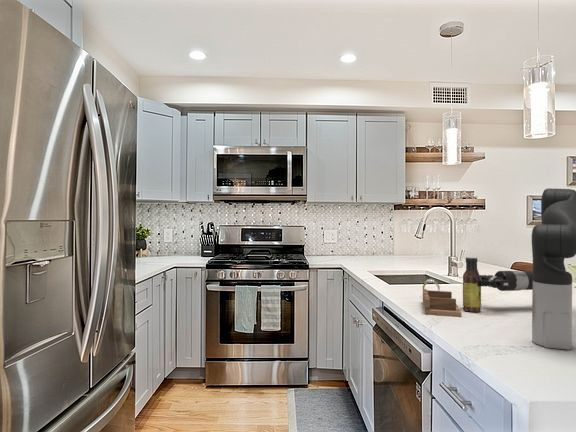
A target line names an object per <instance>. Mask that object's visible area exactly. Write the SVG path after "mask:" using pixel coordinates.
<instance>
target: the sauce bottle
mask: <svg viewBox="0 0 576 432" xmlns="http://www.w3.org/2000/svg"><path fill="white" fill-rule="evenodd" d="M465 263H466V264H465V269H466V270H465V271H464V273H463V275H462V306H463V307H462V308H463V310H464V311H466V312H468V313H478V312H481V310H482V286H480V287H479V286H477V281H478V280H481V278H480V275H481V274H480V273H479V270H478V257H473V256H472V257H470V256H469V257H465Z"/></svg>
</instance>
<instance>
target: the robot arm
mask: <svg viewBox="0 0 576 432" xmlns="http://www.w3.org/2000/svg"><path fill="white" fill-rule="evenodd" d="M540 200H541V202H540V211H541V212H540V214H541V216H540V218H541V219H540V220H541V224H536V225H534V226H533V228H532V231H531V253H532V270H525V271H523V270H521V271H520V270H498V271H497V272H495V274H494V275H492V274H479V275H480V278H481V280H478V281H477V286H479V287H480V286H481V287H488V288H493V289H497V290H498V291H501V292H508V291H509V292H513V291H514V292H516V291H528V290H529V291H530V290H532V292H531V293H532V294H531V295H532V296H531V298H532V299H531V300H532V301H531V302H532V303H531V304H532V305H531V308H532V309H531V315H532V316H531V317H532V318H531V329H532V330H531V340H532V342H533V343H534V344H536V345H539V346H541V347H543V348H547V349H558V350H572V347H573V344H572V343H573V275H572V273H571V272H569V271H566V270H567V269H566V265H565V262H564V261H565V259H572V258H573V257H576V190H575V189H572V188H553V187H552V188H551V187H550V188H545V189H544V190H543V192H542V195H541V199H540Z"/></svg>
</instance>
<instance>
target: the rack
mask: <svg viewBox="0 0 576 432" xmlns="http://www.w3.org/2000/svg"><path fill="white" fill-rule="evenodd" d="M452 294H453V293H452V291H446V290H445V291H443V290H440V291H438V290H428V289H427V288H424V289H423V288H422V306H423V310H424V314H425V315H430V316H441V317H442V316H444V317H458V318H459V317H460V318H462V311H461V309H460V308H459V306H458V304H457V299H456V298H452V297H453V296H452Z"/></svg>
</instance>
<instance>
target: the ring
mask: <svg viewBox="0 0 576 432" xmlns="http://www.w3.org/2000/svg"><path fill="white" fill-rule="evenodd" d="M431 283H432V284H434V285H436V286H437V291H441V287H440V285H439V283H438V282H437V281H436V280H435V279H434V278H429V279H428V278H427V279H426V280H425V281H424V283H423V285H422V290H423V289H425V287H426V286H427V285H428V284H431Z"/></svg>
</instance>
